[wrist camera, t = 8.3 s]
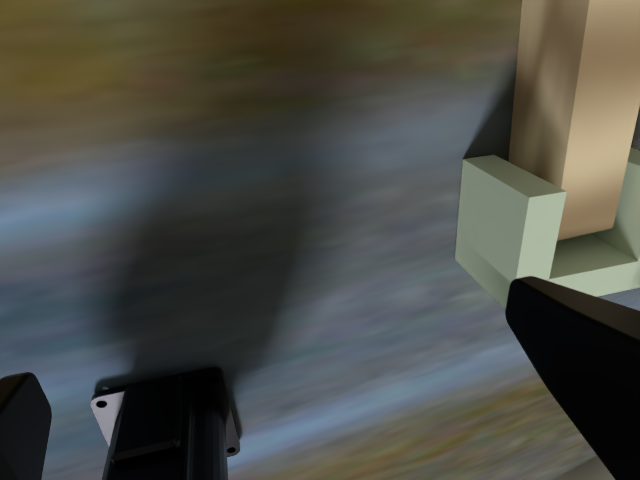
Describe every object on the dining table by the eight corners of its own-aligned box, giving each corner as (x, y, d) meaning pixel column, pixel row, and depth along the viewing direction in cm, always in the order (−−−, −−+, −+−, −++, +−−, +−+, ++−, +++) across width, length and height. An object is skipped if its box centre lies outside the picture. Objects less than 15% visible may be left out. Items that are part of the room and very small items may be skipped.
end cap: (580, 235, 25) (659, 283, 21) (454, 259, 24) (510, 314, 19) (603, 138, 22) (698, 169, 18) (463, 159, 21) (529, 197, 17)
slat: (553, 196, 24) (612, 227, 20) (501, 207, 23) (553, 241, 20) (606, -178, 16) (713, -228, 13) (532, -171, 16) (622, -221, 13)
